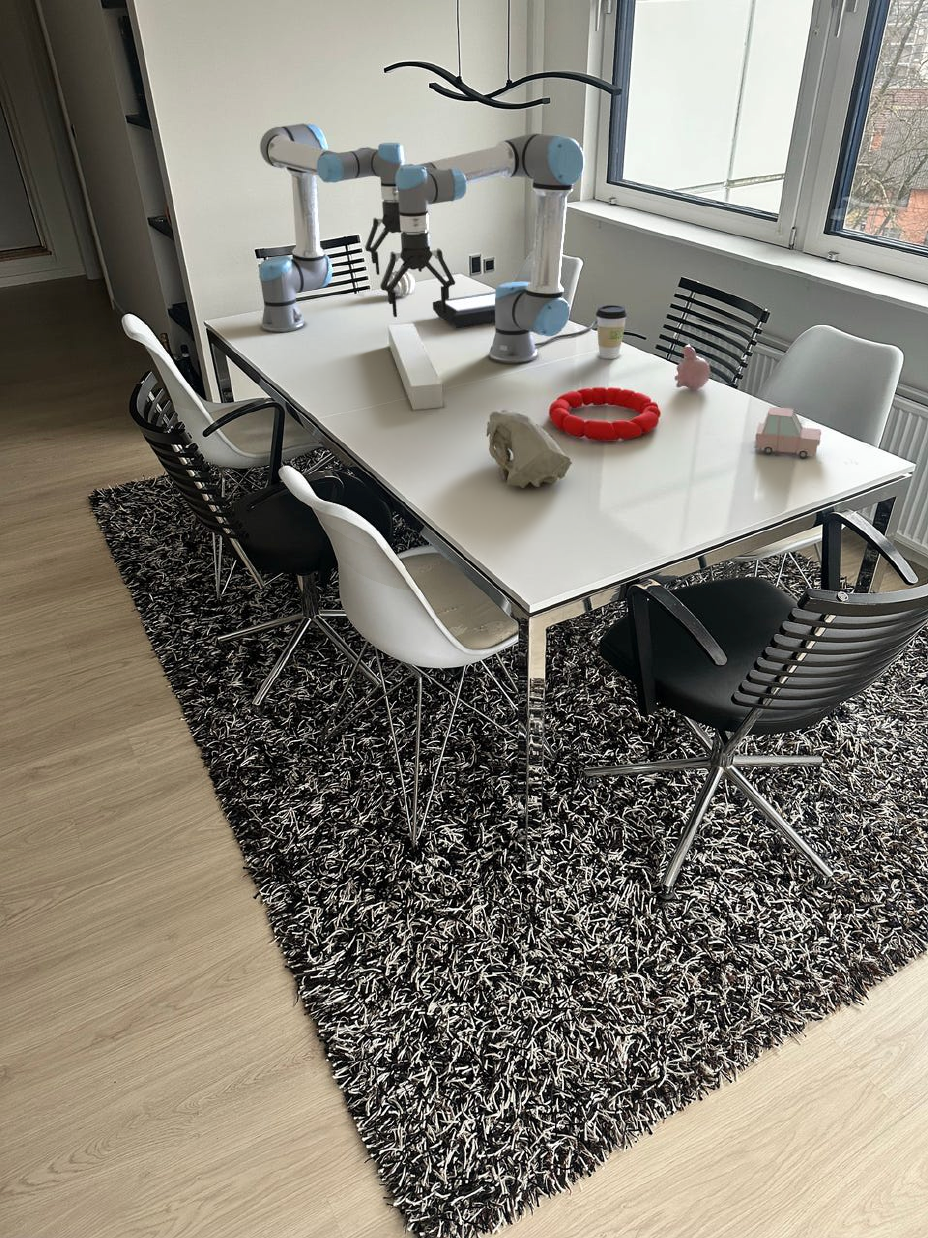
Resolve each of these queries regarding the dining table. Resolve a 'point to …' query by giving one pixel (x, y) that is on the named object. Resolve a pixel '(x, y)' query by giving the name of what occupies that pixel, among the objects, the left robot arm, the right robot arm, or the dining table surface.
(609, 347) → the coffee cup
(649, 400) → the decorative ring
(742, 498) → the dining table surface
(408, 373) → the wide beam
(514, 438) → the animal skull
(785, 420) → the toy car
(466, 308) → the electronic device
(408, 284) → the seashell
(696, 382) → the figurine
